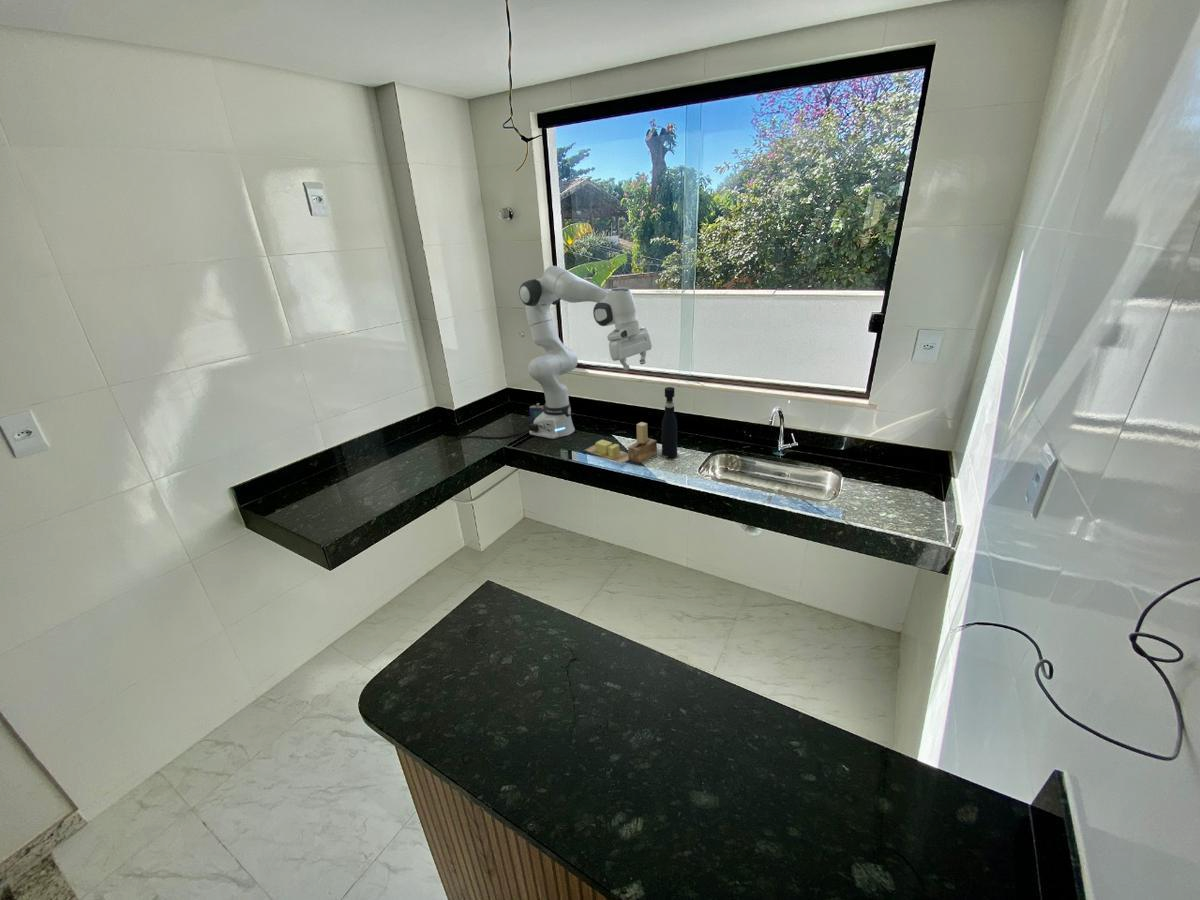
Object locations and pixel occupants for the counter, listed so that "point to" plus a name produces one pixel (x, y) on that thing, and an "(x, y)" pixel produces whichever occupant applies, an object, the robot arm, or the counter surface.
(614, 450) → the butter pat
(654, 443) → the knife block
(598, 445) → the butter
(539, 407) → the flask
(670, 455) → the dark water bottle
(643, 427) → the knife
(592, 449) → the board
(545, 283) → the robot arm
